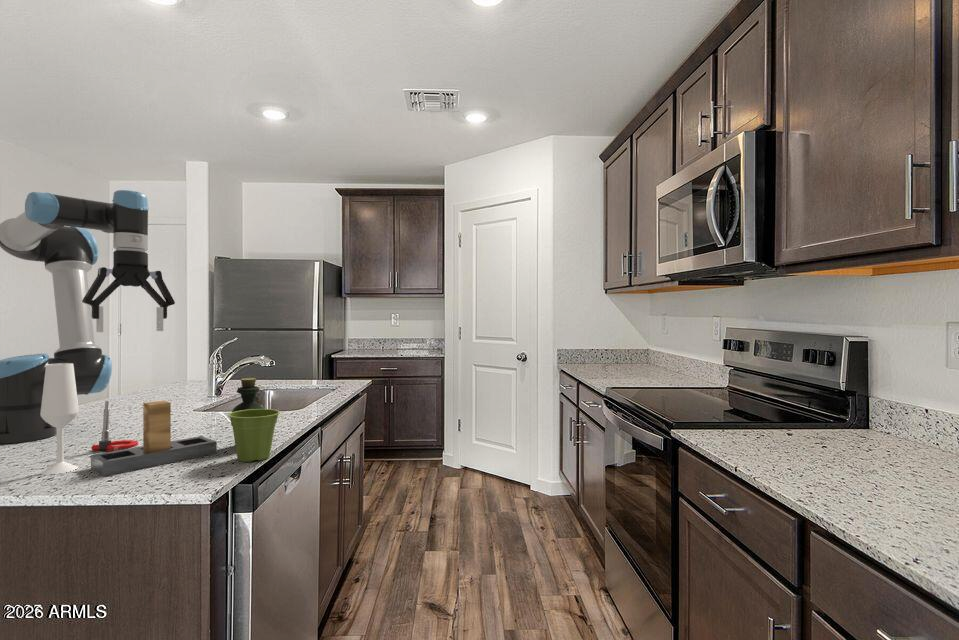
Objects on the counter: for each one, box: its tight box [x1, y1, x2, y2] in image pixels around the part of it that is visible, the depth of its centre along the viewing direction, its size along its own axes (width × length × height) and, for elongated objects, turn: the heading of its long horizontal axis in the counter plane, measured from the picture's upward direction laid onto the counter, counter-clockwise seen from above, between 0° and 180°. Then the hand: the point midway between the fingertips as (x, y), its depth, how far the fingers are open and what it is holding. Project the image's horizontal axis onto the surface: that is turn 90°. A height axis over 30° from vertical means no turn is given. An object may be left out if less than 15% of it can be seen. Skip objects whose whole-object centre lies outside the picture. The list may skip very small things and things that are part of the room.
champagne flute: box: [40, 363, 80, 476], centre depth 115 cm, size 7×7×24 cm
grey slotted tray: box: [90, 435, 218, 477], centre depth 123 cm, size 9×24×3 cm, turn 141°
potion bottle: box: [231, 377, 265, 412], centre depth 137 cm, size 8×8×18 cm
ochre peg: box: [142, 400, 172, 452], centre depth 123 cm, size 4×4×14 cm
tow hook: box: [91, 400, 139, 452], centre depth 135 cm, size 8×13×9 cm
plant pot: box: [227, 408, 281, 463], centre depth 125 cm, size 12×12×11 cm
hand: (131, 331), depth 134 cm, fingers open, 13 cm apart
